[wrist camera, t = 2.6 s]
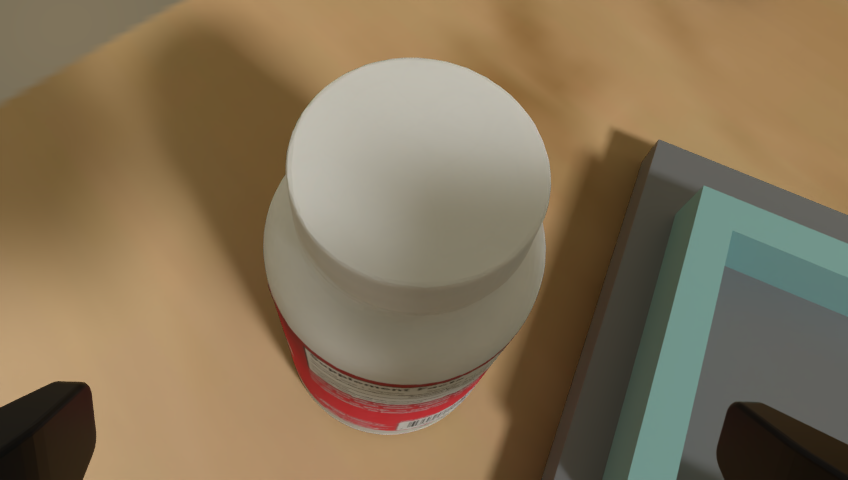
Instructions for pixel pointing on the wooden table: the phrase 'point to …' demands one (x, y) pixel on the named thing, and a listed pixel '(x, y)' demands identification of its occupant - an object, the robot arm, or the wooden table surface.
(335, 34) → the wooden table surface
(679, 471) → the jig board
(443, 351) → the pill bottle
